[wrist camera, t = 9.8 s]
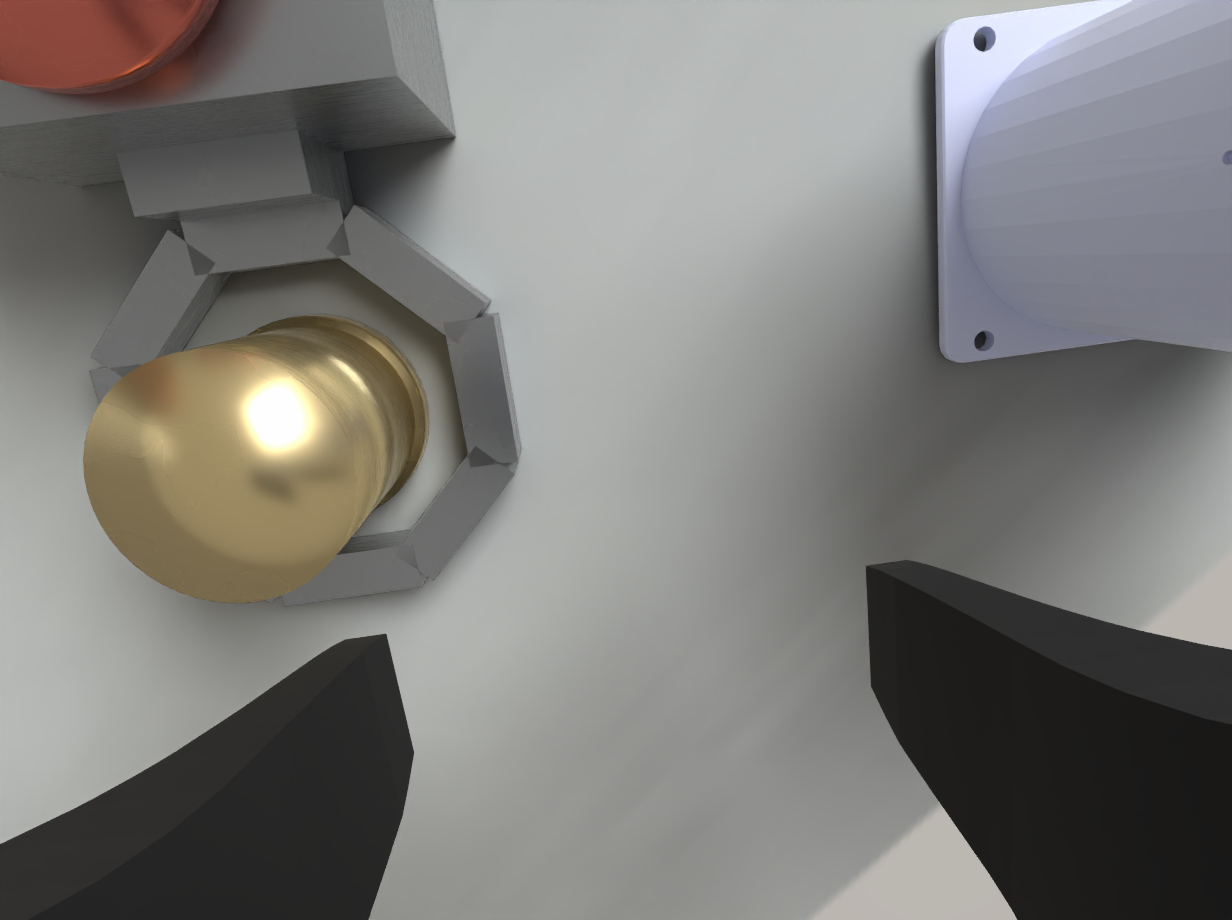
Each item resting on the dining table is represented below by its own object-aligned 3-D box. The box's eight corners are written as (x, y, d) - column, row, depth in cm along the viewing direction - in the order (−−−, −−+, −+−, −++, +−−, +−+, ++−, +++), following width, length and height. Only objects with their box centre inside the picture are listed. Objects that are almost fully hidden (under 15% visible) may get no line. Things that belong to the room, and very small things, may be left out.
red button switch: (390, -332, 15) (243, -800, 9) (538, 553, 20) (520, 696, 14) (-77, -274, 15) (-601, -706, 8) (192, 602, 20) (0, 770, 14)
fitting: (415, 307, 19) (343, 328, 13) (441, 502, 20) (386, 601, 14) (205, 321, 19) (37, 349, 13) (246, 517, 20) (111, 623, 14)
